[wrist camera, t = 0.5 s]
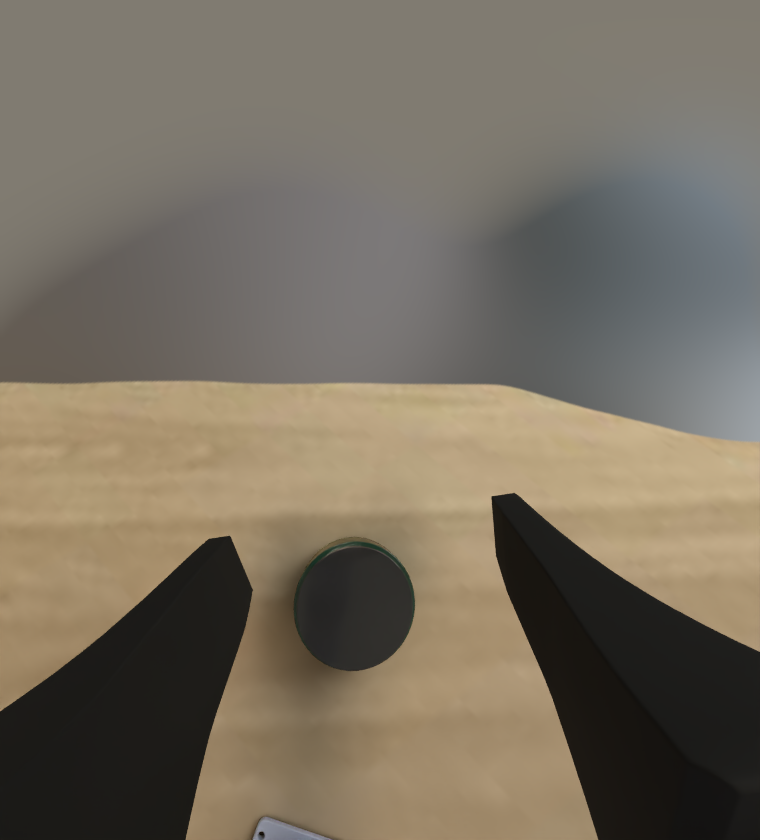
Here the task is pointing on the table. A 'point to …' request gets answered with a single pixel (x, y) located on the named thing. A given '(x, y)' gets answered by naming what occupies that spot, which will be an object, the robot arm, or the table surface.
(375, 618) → the green tin can
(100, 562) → the table surface
